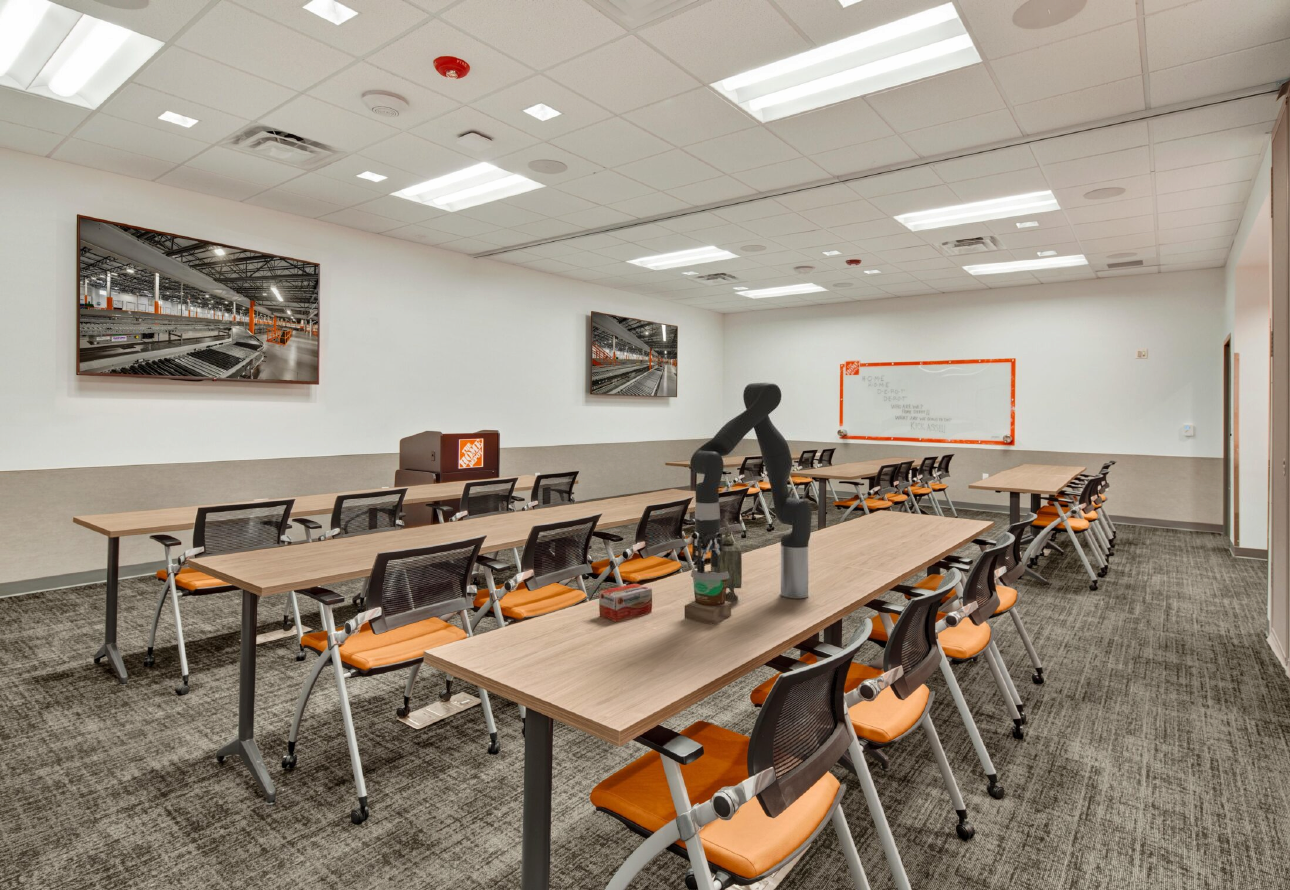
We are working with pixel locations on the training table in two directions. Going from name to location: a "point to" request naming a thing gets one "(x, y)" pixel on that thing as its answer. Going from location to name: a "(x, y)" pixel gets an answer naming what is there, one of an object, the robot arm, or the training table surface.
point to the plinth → (707, 612)
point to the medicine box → (625, 602)
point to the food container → (710, 587)
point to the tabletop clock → (730, 562)
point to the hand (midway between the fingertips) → (708, 569)
